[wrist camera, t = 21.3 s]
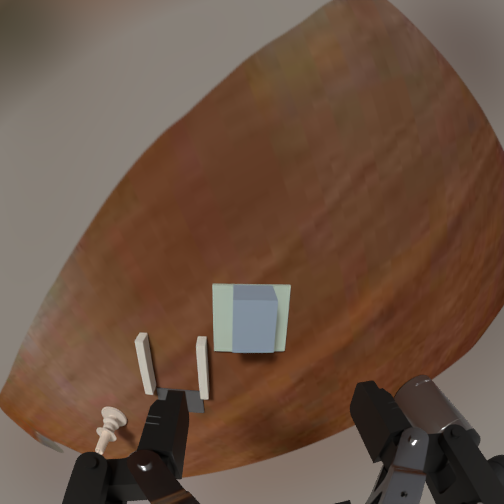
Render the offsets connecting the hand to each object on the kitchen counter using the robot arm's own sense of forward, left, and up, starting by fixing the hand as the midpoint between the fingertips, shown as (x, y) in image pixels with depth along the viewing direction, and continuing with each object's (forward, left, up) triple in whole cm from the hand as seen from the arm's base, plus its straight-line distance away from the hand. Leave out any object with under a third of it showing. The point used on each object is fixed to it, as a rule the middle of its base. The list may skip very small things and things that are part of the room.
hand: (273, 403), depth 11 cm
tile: (-8, -1, -25) cm, 26 cm away
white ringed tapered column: (-31, +24, -25) cm, 47 cm away
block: (-6, -1, -24) cm, 25 cm away
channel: (-19, +10, -25) cm, 33 cm away
